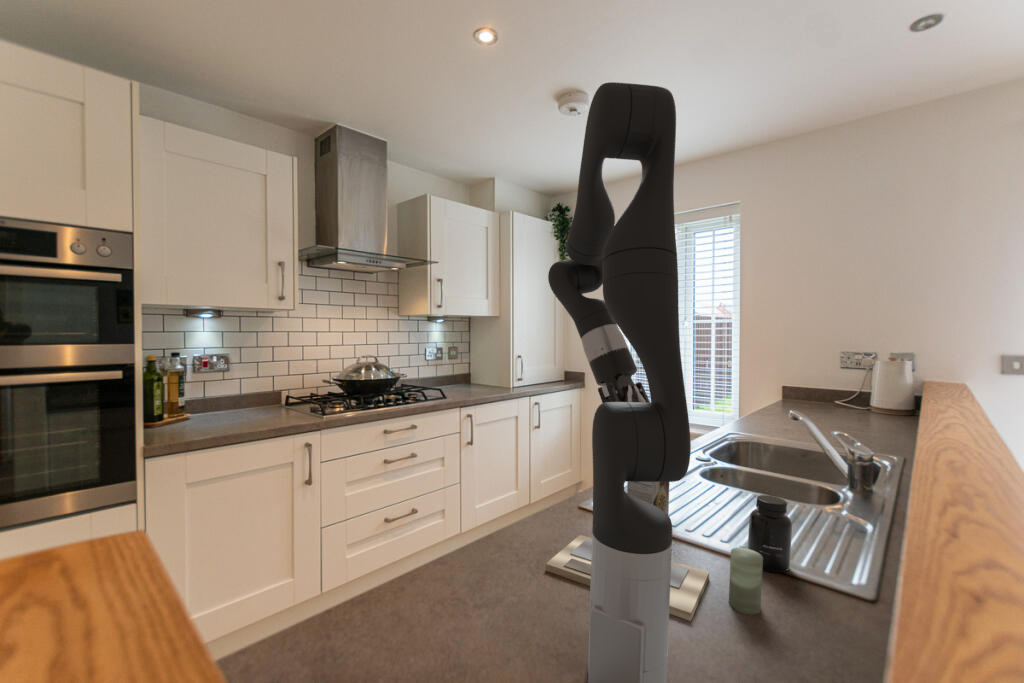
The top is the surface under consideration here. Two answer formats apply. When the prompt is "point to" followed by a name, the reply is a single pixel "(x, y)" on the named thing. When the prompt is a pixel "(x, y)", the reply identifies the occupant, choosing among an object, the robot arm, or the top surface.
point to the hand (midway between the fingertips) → (643, 441)
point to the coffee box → (651, 493)
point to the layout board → (683, 578)
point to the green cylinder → (745, 580)
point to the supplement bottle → (771, 533)
